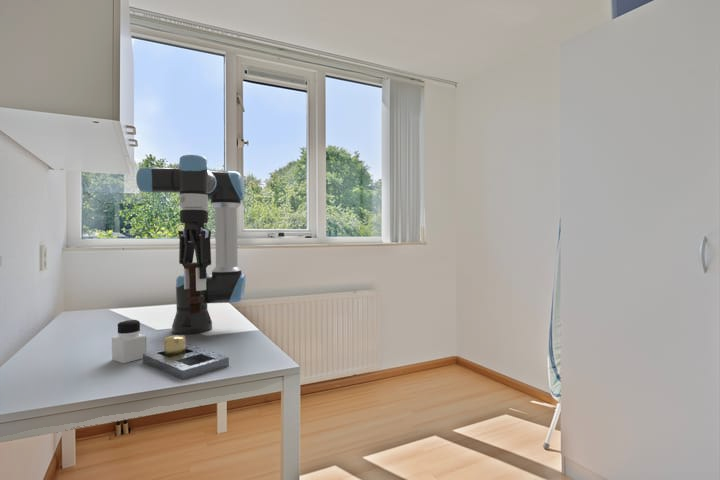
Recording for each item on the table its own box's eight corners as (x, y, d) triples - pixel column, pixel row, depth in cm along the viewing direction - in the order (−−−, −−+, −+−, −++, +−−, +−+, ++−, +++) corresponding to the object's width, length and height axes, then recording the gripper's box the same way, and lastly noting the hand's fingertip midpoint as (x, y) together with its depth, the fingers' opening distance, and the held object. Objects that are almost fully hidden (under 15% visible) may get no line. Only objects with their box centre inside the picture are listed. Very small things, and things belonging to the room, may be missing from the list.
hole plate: (142, 362, 121) (142, 339, 121) (186, 351, 132) (186, 330, 132) (183, 379, 106) (182, 353, 106) (228, 365, 117) (228, 342, 117)
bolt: (197, 316, 112) (196, 263, 112) (181, 316, 113) (180, 263, 113) (209, 312, 118) (208, 262, 118) (193, 312, 119) (193, 262, 119)
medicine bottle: (146, 357, 126) (146, 320, 126) (123, 364, 120) (122, 324, 120) (135, 354, 130) (134, 317, 130) (111, 360, 124) (111, 321, 124)
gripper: (165, 210, 118) (166, 288, 118) (199, 207, 106) (200, 293, 107) (189, 211, 124) (190, 285, 124) (224, 208, 112) (225, 290, 113)
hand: (195, 289), depth 115 cm, fingers closed on bolt, 6 cm apart
